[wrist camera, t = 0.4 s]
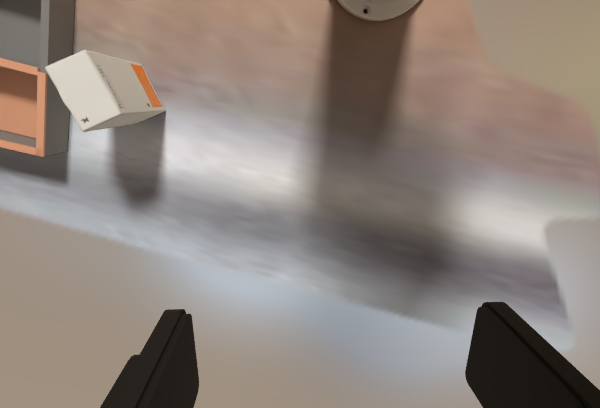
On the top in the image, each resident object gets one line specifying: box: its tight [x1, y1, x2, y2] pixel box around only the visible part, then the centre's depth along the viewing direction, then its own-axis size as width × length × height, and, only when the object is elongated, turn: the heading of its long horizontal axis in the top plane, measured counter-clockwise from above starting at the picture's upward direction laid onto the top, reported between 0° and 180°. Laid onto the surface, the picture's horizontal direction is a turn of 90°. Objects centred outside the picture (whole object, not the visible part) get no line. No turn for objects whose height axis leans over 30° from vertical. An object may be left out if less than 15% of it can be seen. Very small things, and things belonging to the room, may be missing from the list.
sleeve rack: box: [0, 0, 75, 157], centre depth 37 cm, size 18×10×4 cm, turn 166°
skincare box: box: [45, 50, 165, 132], centre depth 35 cm, size 6×4×12 cm
